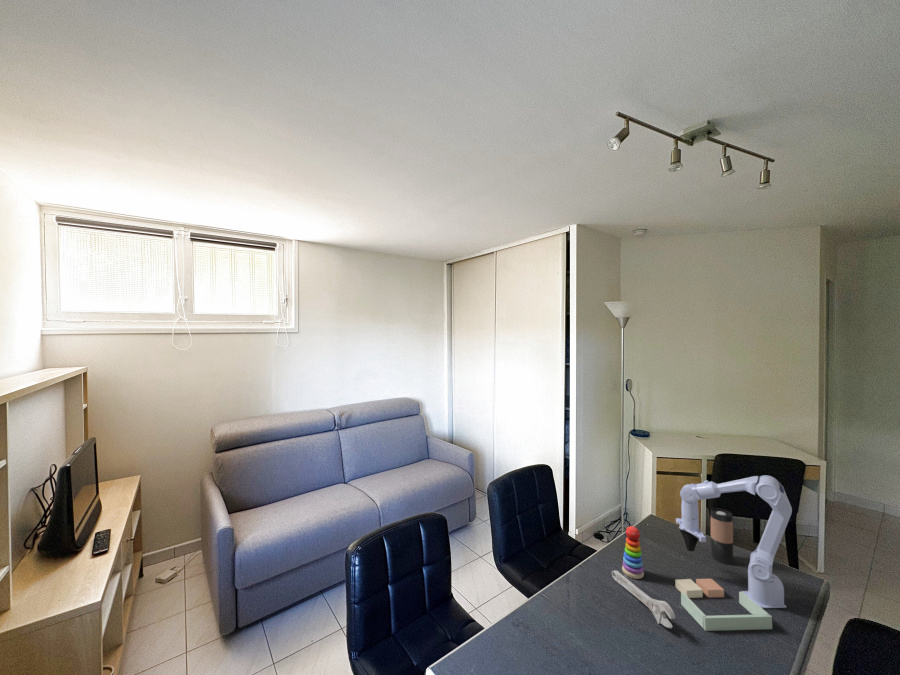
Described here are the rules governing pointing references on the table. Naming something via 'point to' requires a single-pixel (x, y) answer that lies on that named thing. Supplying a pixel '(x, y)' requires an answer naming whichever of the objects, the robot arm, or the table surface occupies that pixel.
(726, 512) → the travel mug
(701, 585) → the terracotta tile
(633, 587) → the wrench
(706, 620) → the box
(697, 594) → the sand tile
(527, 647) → the table surface
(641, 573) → the stacking toy
